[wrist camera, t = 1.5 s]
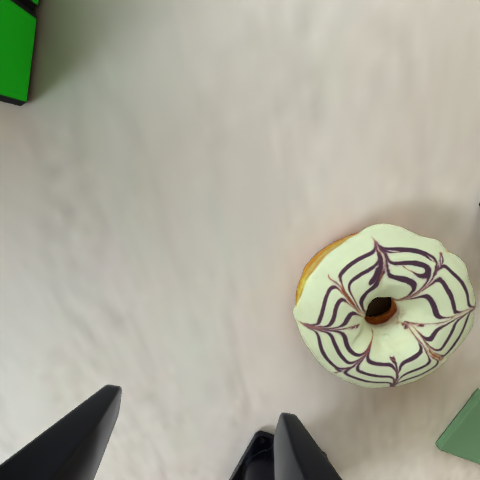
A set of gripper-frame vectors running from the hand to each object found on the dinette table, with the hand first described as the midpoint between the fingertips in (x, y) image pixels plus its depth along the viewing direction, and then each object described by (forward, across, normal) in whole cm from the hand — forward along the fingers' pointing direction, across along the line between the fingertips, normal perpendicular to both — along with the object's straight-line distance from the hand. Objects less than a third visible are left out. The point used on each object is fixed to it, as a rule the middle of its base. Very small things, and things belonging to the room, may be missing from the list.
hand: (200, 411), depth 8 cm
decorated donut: (+12, -10, 0) cm, 16 cm away
